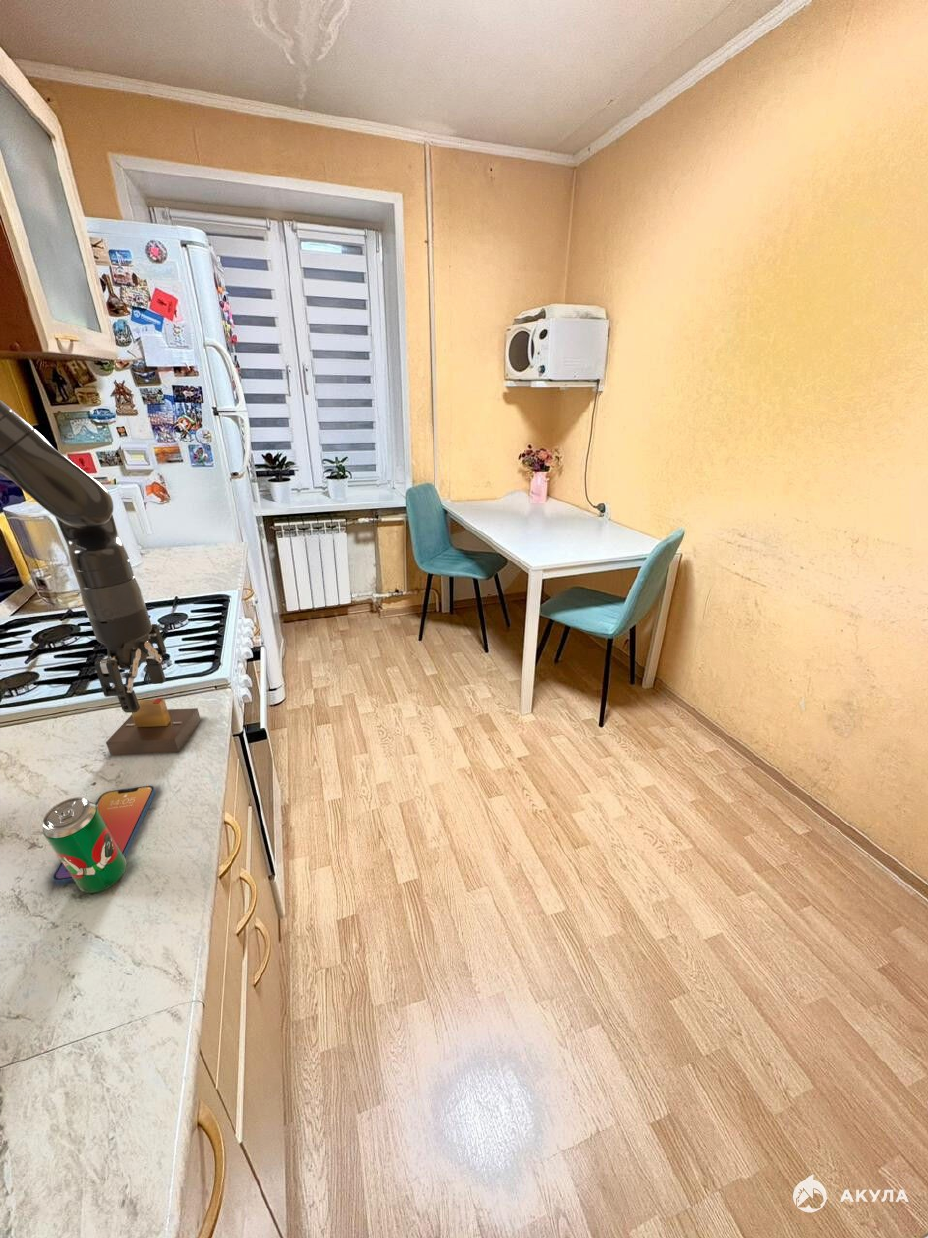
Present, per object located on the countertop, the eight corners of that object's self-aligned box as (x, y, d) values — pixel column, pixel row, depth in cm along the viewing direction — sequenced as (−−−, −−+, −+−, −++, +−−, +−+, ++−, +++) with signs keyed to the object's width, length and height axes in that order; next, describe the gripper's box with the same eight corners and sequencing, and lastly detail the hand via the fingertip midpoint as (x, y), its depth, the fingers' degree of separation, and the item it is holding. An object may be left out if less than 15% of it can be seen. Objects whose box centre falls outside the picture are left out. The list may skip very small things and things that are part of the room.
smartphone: (51, 888, 61) (48, 882, 60) (103, 797, 74) (101, 792, 74) (118, 876, 62) (116, 871, 62) (158, 789, 75) (156, 784, 75)
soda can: (124, 849, 65) (90, 787, 59) (131, 879, 62) (96, 816, 55) (77, 872, 62) (36, 809, 56) (82, 904, 59) (39, 841, 53)
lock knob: (136, 727, 85) (128, 704, 83) (141, 722, 86) (133, 698, 84) (166, 726, 85) (159, 703, 83) (171, 720, 87) (164, 697, 85)
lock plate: (111, 757, 83) (105, 741, 81) (139, 724, 91) (134, 709, 90) (179, 753, 83) (174, 738, 82) (201, 721, 91) (197, 707, 90)
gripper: (117, 591, 83) (145, 675, 90) (60, 628, 70) (97, 723, 77) (164, 590, 83) (187, 673, 90) (115, 626, 70) (147, 720, 77)
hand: (146, 696), depth 83 cm, fingers open, 8 cm apart
